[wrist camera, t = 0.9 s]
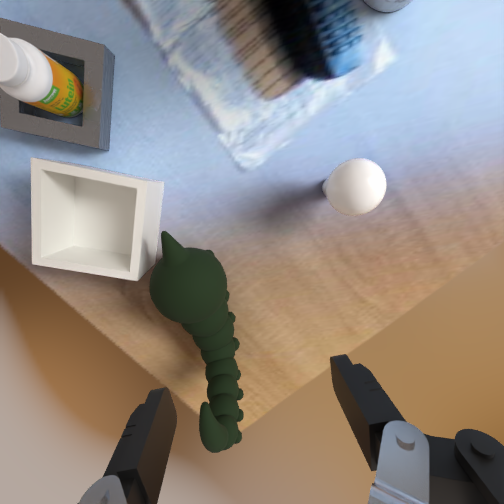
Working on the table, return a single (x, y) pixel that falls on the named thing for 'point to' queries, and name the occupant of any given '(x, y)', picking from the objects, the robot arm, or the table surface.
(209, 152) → the table surface
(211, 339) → the toy figurine
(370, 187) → the lightbulb
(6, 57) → the supplement bottle
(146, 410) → the robot arm
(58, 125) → the socket collar
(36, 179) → the bin
